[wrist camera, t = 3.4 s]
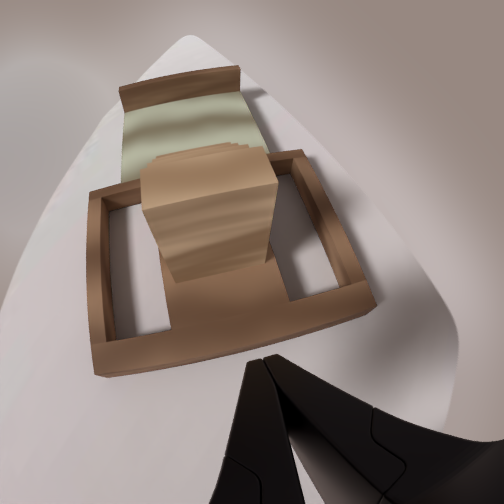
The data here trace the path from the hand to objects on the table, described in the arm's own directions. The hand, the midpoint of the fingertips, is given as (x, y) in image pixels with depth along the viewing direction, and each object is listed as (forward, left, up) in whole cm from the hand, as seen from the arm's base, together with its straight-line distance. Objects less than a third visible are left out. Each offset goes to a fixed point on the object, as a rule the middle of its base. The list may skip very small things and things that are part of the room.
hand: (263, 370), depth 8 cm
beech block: (+12, +4, -10) cm, 16 cm away
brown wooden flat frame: (+15, +5, -12) cm, 20 cm away
